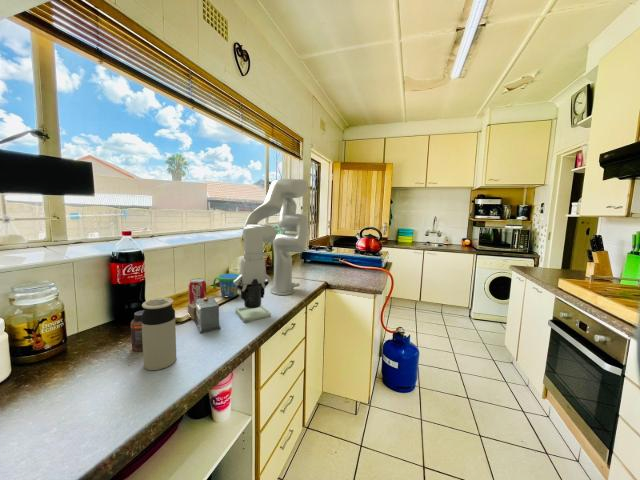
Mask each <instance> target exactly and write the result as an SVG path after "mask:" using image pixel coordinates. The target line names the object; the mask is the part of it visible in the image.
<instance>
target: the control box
mask: <svg viewBox="0 0 640 480" xmlns="http://www.w3.org/2000/svg"><path fill="white" fill-rule="evenodd" d="M196 316H197V319H196V320H194V323H195V325H196V328H197V329H198V332H199V333H200V334H203V333H208V332H213V331H217V330H221V329H222V328H221V326H220V305H219V304H218V302H217V301H216V299H215V298H214V296H208V297H207V296H206V297H205V298H201V299H196Z"/></svg>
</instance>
